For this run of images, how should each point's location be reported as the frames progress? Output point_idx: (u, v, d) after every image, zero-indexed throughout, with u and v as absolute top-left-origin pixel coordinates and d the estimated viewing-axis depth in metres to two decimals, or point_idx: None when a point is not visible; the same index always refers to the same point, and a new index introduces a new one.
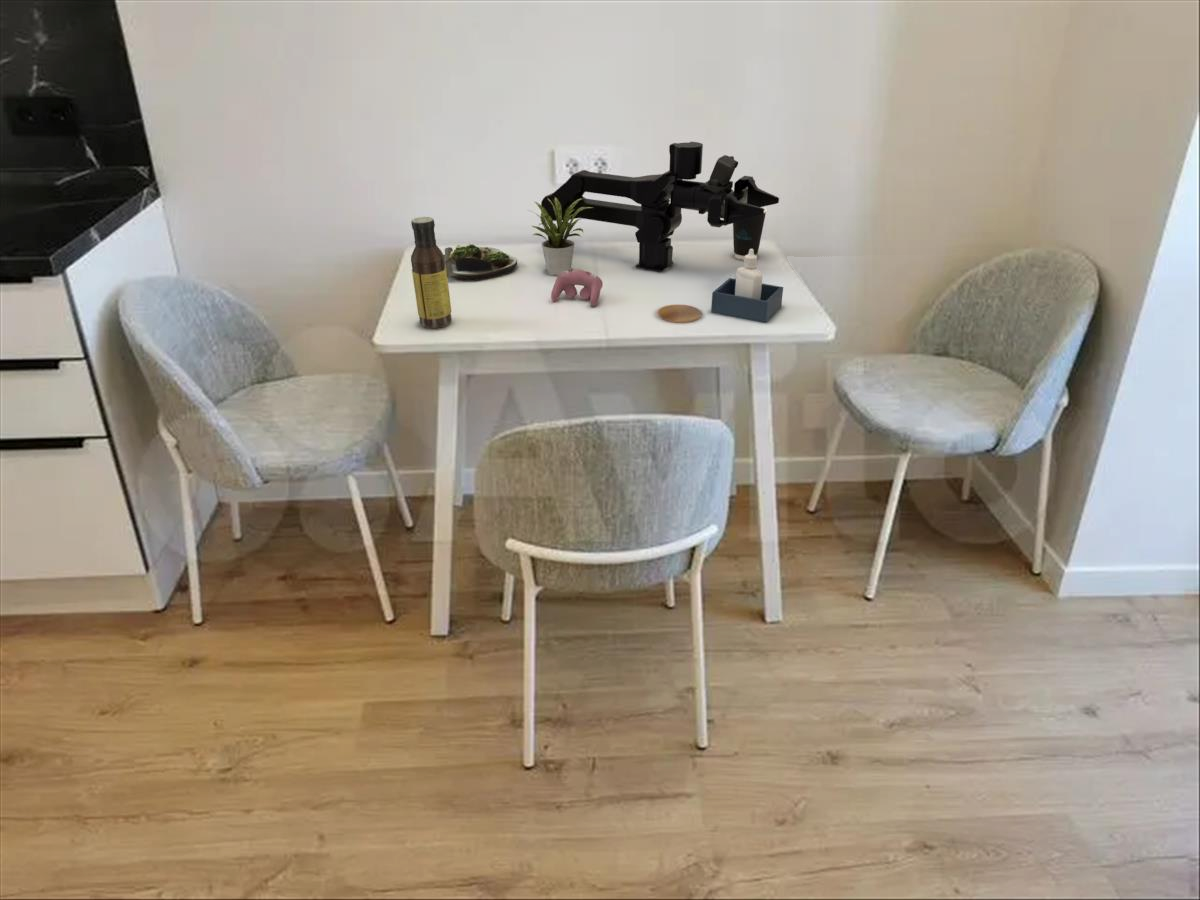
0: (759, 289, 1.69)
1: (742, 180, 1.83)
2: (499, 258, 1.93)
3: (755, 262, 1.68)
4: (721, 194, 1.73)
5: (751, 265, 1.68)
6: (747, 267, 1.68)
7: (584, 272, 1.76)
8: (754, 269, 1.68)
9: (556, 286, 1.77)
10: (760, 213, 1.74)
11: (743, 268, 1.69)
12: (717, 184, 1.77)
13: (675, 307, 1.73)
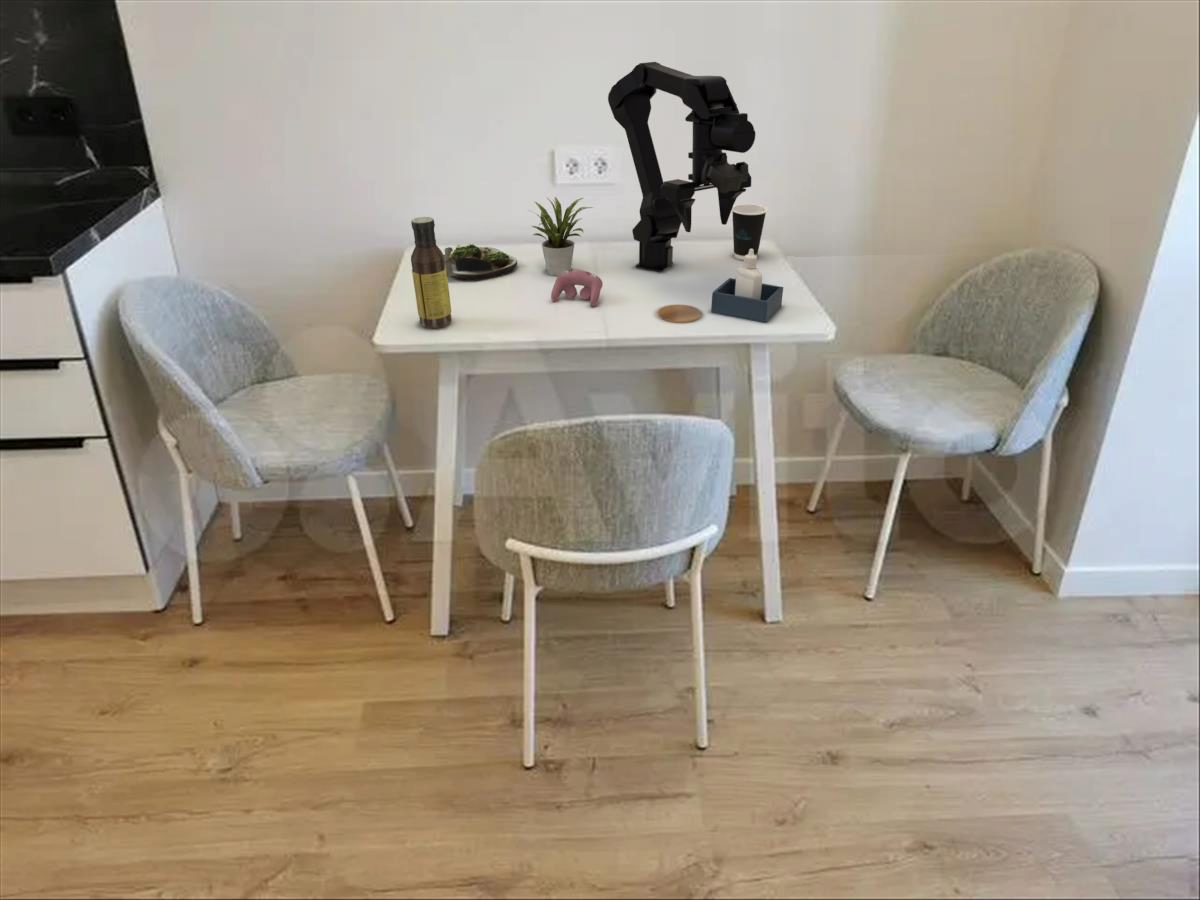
0: (759, 289, 1.69)
1: None
2: (499, 258, 1.93)
3: (755, 262, 1.68)
4: (685, 196, 1.68)
5: (751, 265, 1.68)
6: (747, 267, 1.68)
7: (584, 272, 1.76)
8: (754, 269, 1.68)
9: (556, 286, 1.77)
10: (686, 229, 1.76)
11: (743, 268, 1.69)
12: (708, 177, 1.69)
13: (675, 307, 1.73)
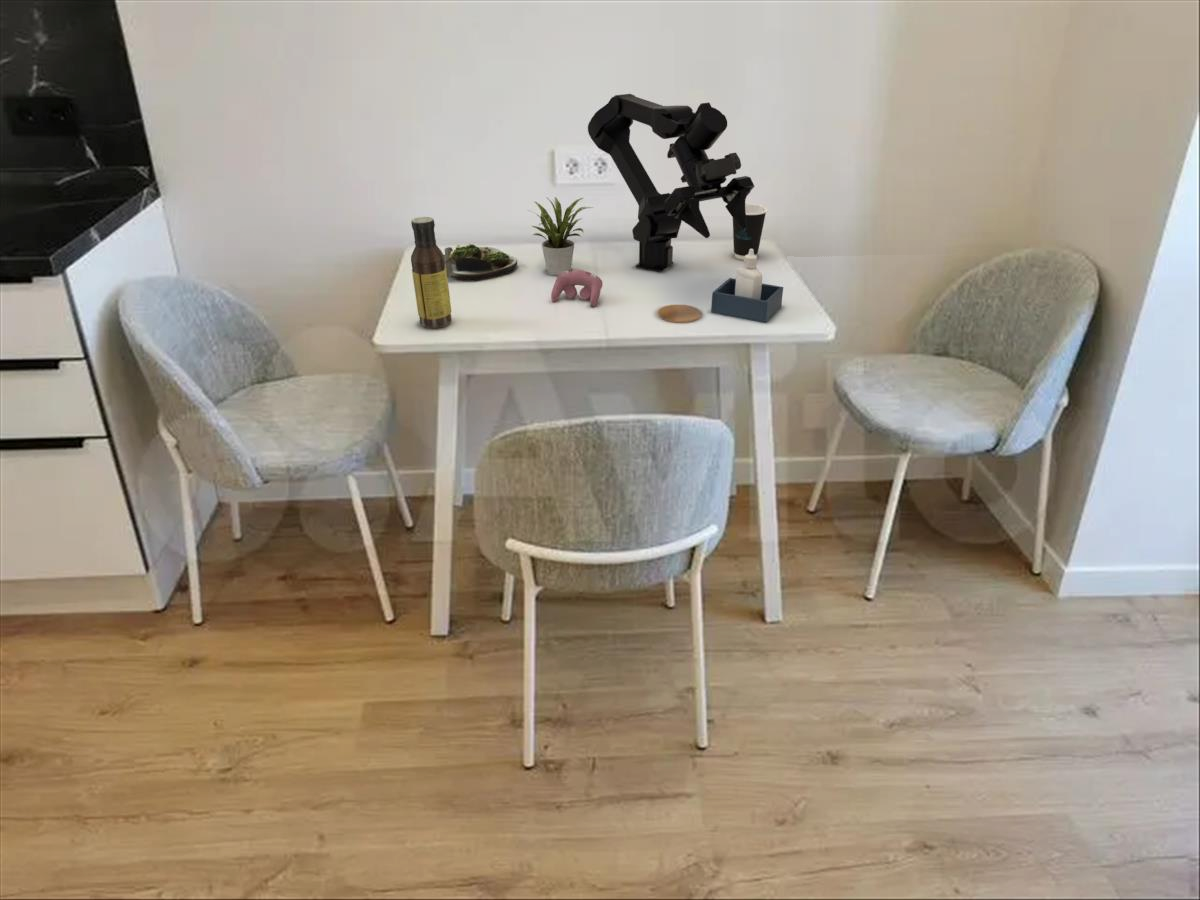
0: (759, 289, 1.69)
1: (738, 183, 1.73)
2: (499, 258, 1.93)
3: (755, 262, 1.68)
4: (687, 194, 1.67)
5: (751, 265, 1.68)
6: (747, 267, 1.68)
7: (584, 272, 1.76)
8: (754, 269, 1.68)
9: (556, 286, 1.77)
10: (705, 235, 1.70)
11: (743, 268, 1.69)
12: (702, 176, 1.69)
13: (675, 307, 1.73)
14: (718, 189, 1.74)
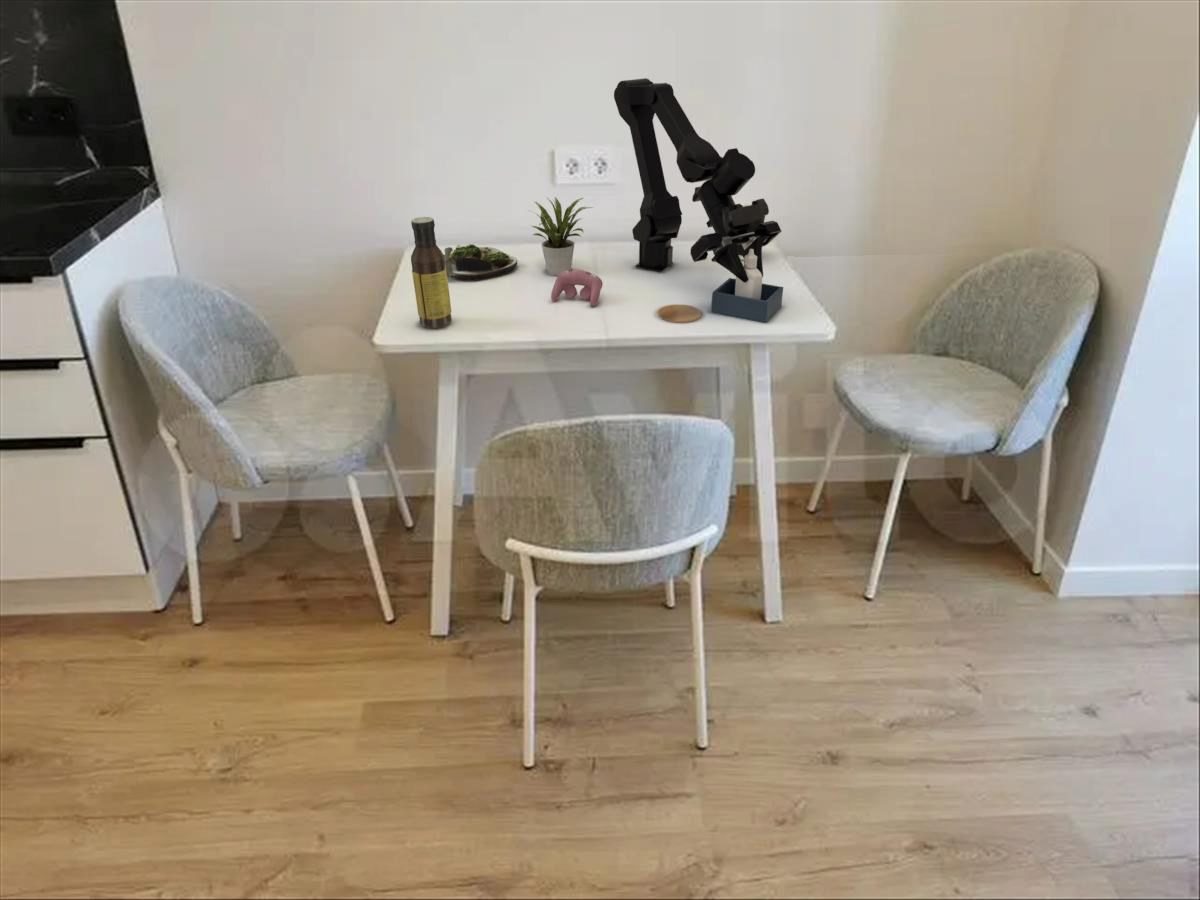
0: (759, 289, 1.69)
1: (765, 229, 1.70)
2: (499, 258, 1.93)
3: (755, 262, 1.68)
4: (714, 242, 1.64)
5: (751, 265, 1.68)
6: (747, 267, 1.68)
7: (584, 272, 1.76)
8: (754, 269, 1.68)
9: (556, 286, 1.77)
10: (744, 280, 1.68)
11: None
12: (729, 223, 1.66)
13: (675, 307, 1.73)
14: None
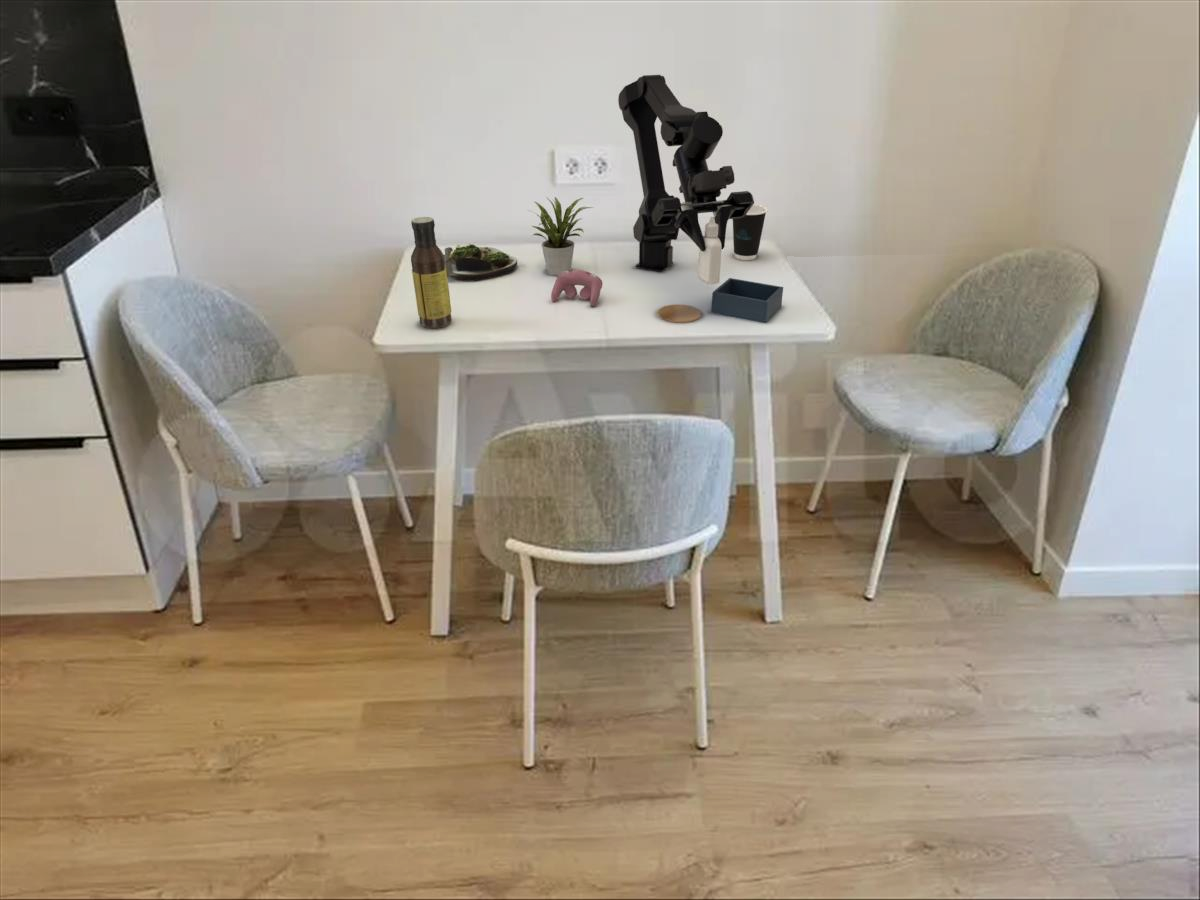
0: (717, 260, 1.63)
1: (734, 198, 1.64)
2: (499, 258, 1.93)
3: (715, 231, 1.62)
4: (670, 206, 1.61)
5: (711, 234, 1.62)
6: (707, 235, 1.63)
7: (584, 272, 1.76)
8: (714, 238, 1.63)
9: (556, 286, 1.77)
10: (702, 249, 1.64)
11: (704, 236, 1.64)
12: (692, 188, 1.62)
13: (675, 307, 1.73)
14: None
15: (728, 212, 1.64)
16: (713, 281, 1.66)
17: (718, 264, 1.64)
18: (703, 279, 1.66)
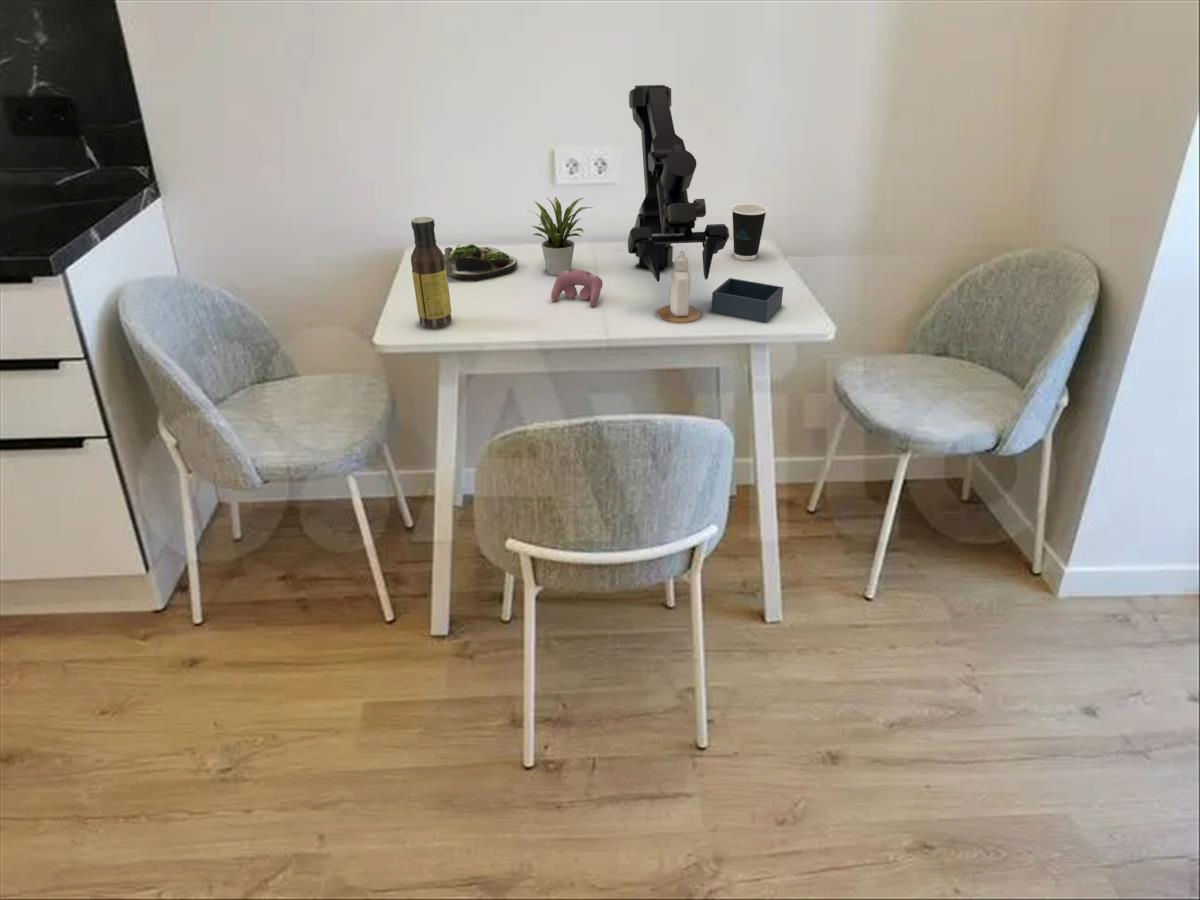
0: (685, 293, 1.67)
1: (708, 230, 1.66)
2: (499, 258, 1.93)
3: (684, 265, 1.65)
4: (640, 235, 1.64)
5: (679, 268, 1.66)
6: (676, 269, 1.66)
7: (584, 272, 1.76)
8: (683, 272, 1.66)
9: (556, 286, 1.77)
10: (657, 279, 1.66)
11: (674, 270, 1.68)
12: (665, 219, 1.65)
13: None
14: (689, 234, 1.68)
15: (715, 243, 1.66)
16: (681, 314, 1.69)
17: (686, 297, 1.67)
18: (672, 311, 1.70)
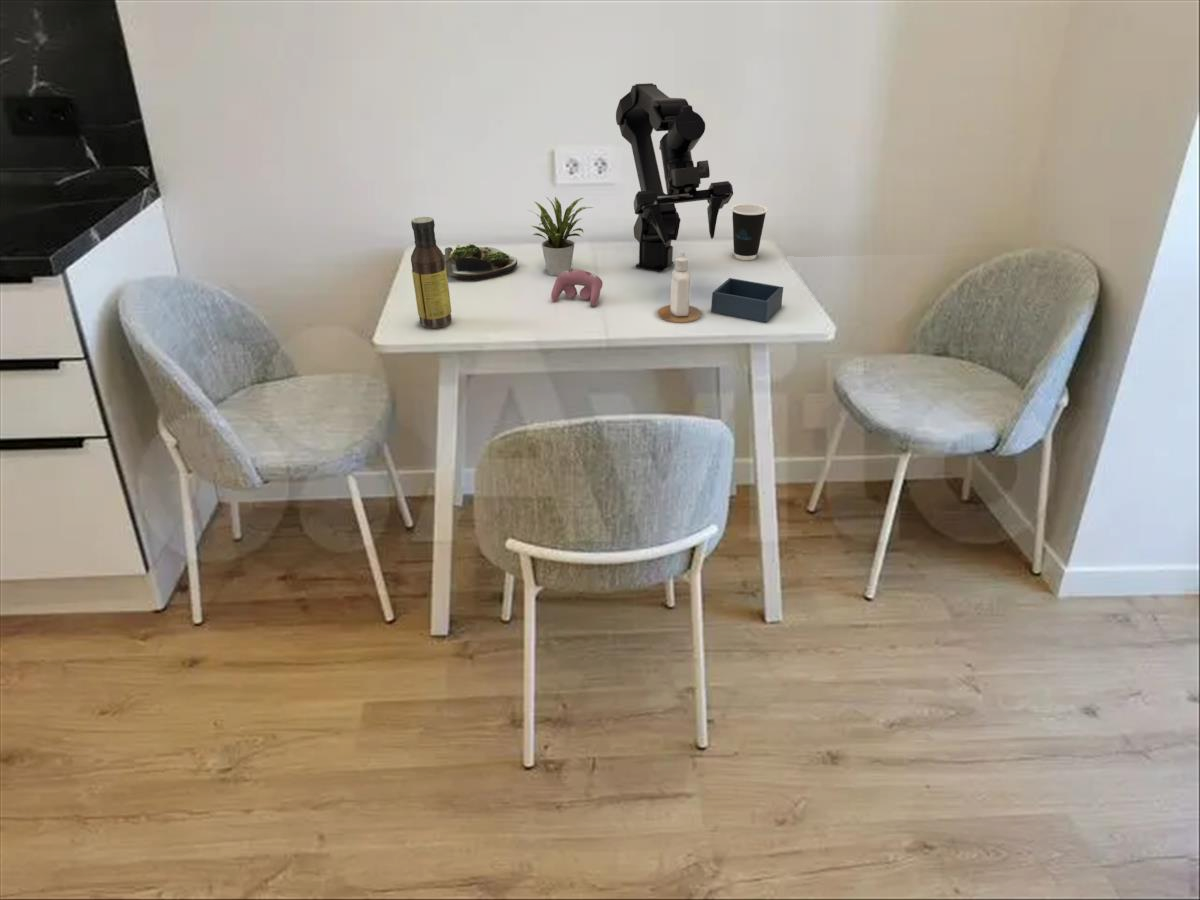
0: (685, 293, 1.67)
1: (713, 190, 1.69)
2: (499, 258, 1.93)
3: (684, 265, 1.65)
4: (646, 200, 1.68)
5: (679, 268, 1.66)
6: (676, 269, 1.66)
7: (584, 272, 1.76)
8: (683, 272, 1.66)
9: (556, 286, 1.77)
10: (664, 241, 1.71)
11: (674, 270, 1.68)
12: (670, 181, 1.68)
13: None
14: (694, 192, 1.71)
15: (719, 202, 1.69)
16: (681, 314, 1.69)
17: (686, 297, 1.67)
18: (672, 311, 1.70)
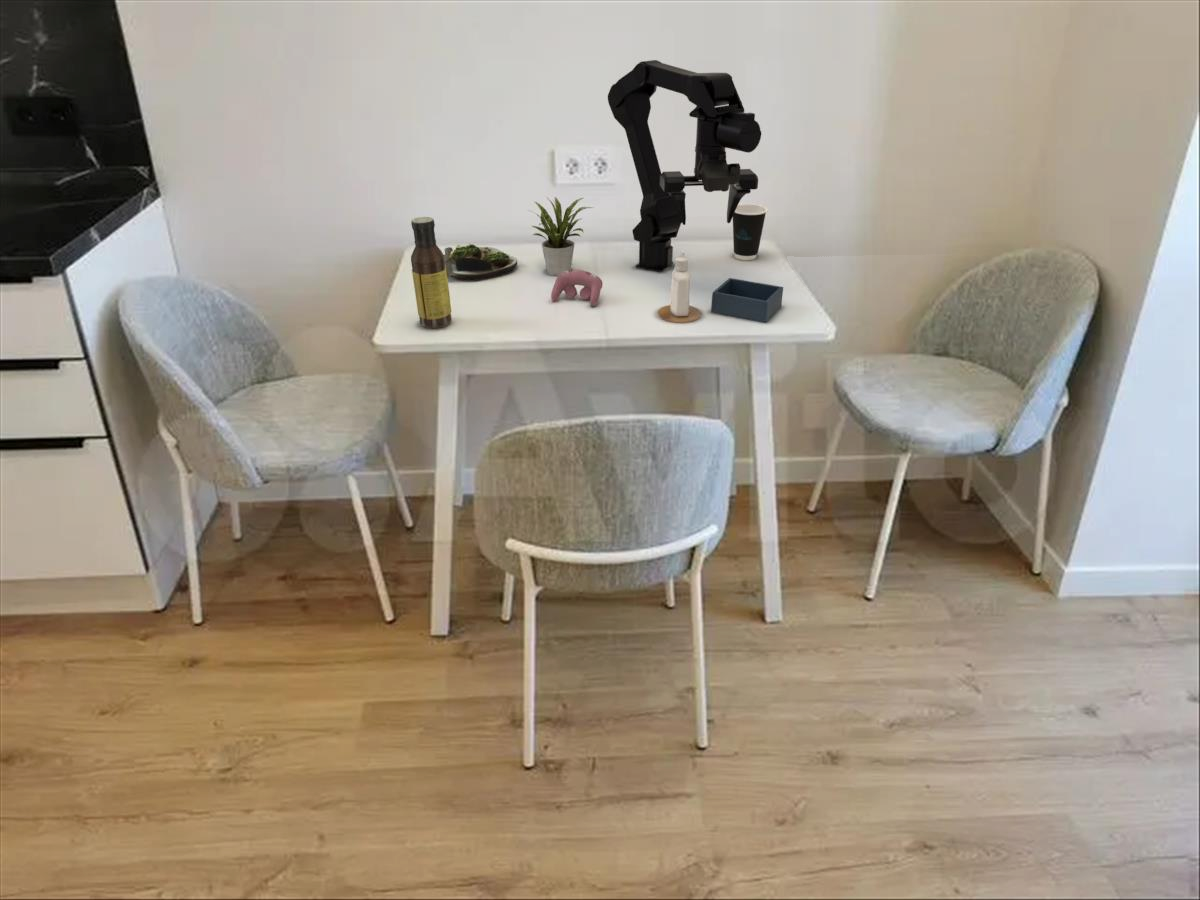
0: (685, 293, 1.67)
1: (739, 184, 1.73)
2: (499, 258, 1.93)
3: (684, 265, 1.65)
4: (673, 189, 1.71)
5: (679, 268, 1.66)
6: (676, 269, 1.66)
7: (584, 272, 1.76)
8: (683, 272, 1.66)
9: (556, 286, 1.77)
10: (682, 221, 1.78)
11: (674, 270, 1.68)
12: (700, 174, 1.70)
13: None
14: None
15: (742, 195, 1.74)
16: (681, 314, 1.69)
17: (686, 297, 1.67)
18: (672, 311, 1.70)
